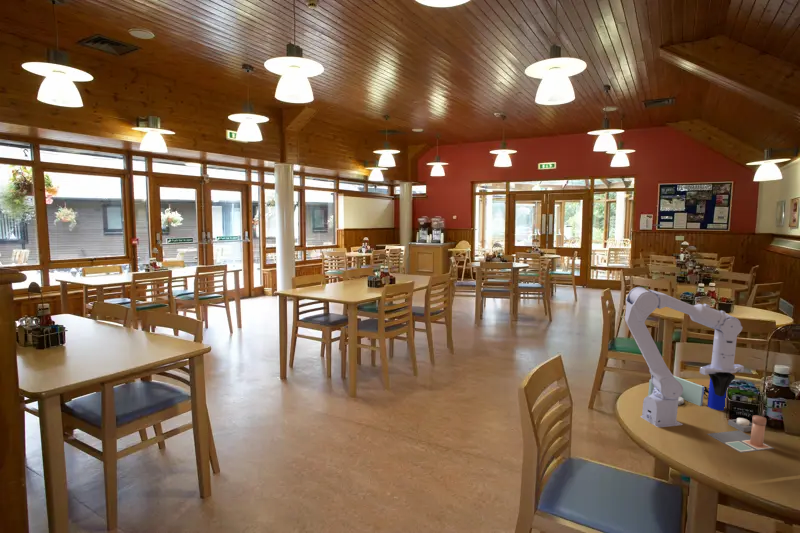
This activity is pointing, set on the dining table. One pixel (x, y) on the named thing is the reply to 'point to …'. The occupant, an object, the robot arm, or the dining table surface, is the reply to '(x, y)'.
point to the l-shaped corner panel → (686, 391)
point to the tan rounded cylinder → (758, 430)
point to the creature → (705, 390)
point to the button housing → (739, 427)
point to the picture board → (738, 441)
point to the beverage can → (715, 399)
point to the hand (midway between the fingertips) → (719, 395)
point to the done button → (743, 422)
